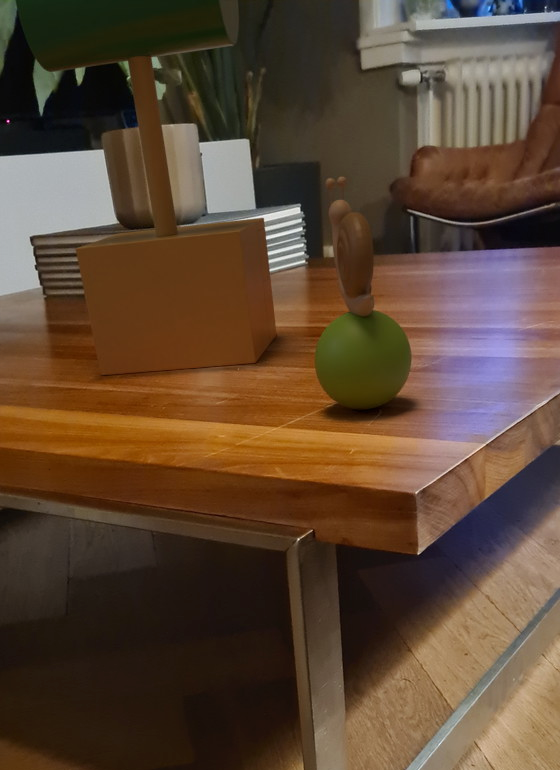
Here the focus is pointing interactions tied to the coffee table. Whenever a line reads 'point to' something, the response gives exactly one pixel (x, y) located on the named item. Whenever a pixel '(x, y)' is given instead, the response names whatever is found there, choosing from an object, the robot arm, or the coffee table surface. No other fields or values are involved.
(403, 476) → the coffee table surface
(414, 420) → the coffee table surface
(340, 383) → the snail figurine
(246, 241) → the lamp
